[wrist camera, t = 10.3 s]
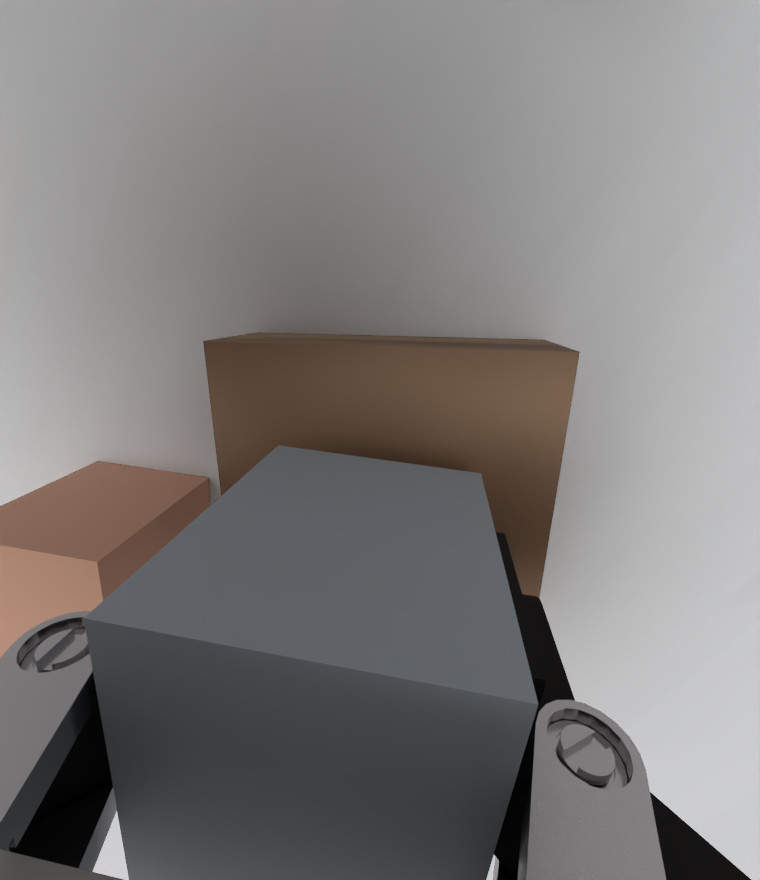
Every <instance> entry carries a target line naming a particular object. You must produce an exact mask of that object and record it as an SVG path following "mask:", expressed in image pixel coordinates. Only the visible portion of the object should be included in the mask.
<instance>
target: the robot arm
mask: <svg viewBox="0 0 760 880" xmlns="http://www.w3.org/2000/svg"><path fill="white" fill-rule="evenodd" d="M496 536H497V540H498V544H499V548H500V552H501V556H502V560H503V564H504V568H505V572H506V576H507V580H508V584H509V588H510V592H511V596H512V600H513V604H514V608H515V612H516V616H517V620H518V624H519V628H520V632H521V636H522V640H523V644H524V648H525V652H526V656H527V660H528V664H529V668H530V672H531V676H532V680H533V684H534V689H535V693H536V697H537V701H538V707H537V711H536V714H535V717H534V721H533V724H532V727H531V731H530V734H529V737H528V741H527V744H526V747H525V751H524V754H523V757H522V761H521V764H520V767H519V771H518V774H517V777H516V781H515V784H514V788H513V791H512V794H511V798H510V801H509V804H508V808H507V811H506V814H505V818H504V821H503V824H502V828H501V831H500V834H499V838H498V841H497V844H496V848H495V851H494V855H495V856H496V857H495V866H494V874H493V880H751V879H750V878H748V877H747V876H746V875H745V874H744V873H743V872H742V871H740V870H739V869H738V868H737V867H736V866H735V865H733V864H732V863H731V862H730V861H729V860H728V859H727V858H725V857H724V856H723V855H722V854H721V853H720V852H718V851H717V850H716V849H715V848H714V847H713V846H712V845H710V844H709V843H708V842H707V841H706V840H705V839H704V838H702V837H701V836H700V835H699V834H698V833H697V832H695V831H694V830H693V829H692V828H691V827H690V826H689V825H687V824H686V823H685V822H684V821H683V820H682V819H680V818H679V817H678V816H677V815H676V814H675V813H674V812H672V811H671V810H670V809H669V808H668V807H667V806H665V805H664V804H663V803H662V802H661V801H660V800H659V799H657V798H656V797H655V796H654V795H653V794H652V793H651V792H650V790H649V785H648V780H647V774H646V769H645V767H644V764H643V761H642V758H641V755H640V753H639V751H638V750H637V748H636V746H635V745H634V743H633V742H632V740H631V739H630V737H629V736H628V735H627V734H626V733H625V732H624V731H623V730H622V729H621V728H620V726H619V725H618V724H617V723H616V722H614V721H613V720H612V719H610V718H609V717H608V716H606V715H605V714H604V713H602V712H601V711H599V710H597V709H595V708H593V707H591V706H589V705H587V704H584V703H581V702H577V701H575V700H574V697H573V694H572V691H571V688H570V685H569V682H568V679H567V676H566V673H565V670H564V667H563V664H562V662H561V659H560V656H559V653H558V650H557V647H556V644H555V641H554V638H553V635H552V632H551V629H550V626H549V623H548V621H547V618H546V615H545V612H544V609H543V606H542V603H541V601H540V599H539V598H538V597H537V596H531V595H525V594H522V592H521V588H520V585H519V581H518V578H517V574H516V571H515V567H514V564H513V560H512V557H511V553H510V550H509V546H508V543H507V539H506V536H505V533H500V532H496ZM90 612H91V611H79V612H71V613H67V614H64V615H60V616H56V617H54V618H51V619H49V620H47V621H45V622H42V623H40V624H38V625H37V626H35V627H33V628H32V629H30V630H29V631H27V632H25V633H24V634H23V635H22V636H21V637H20V638H19V639H17V640H16V641H15V642H14V643H13V644H12V645H11V646H10V647H9V648H8V650H7V651H6V652H5V653H4V654H3V655H2V656H1V658H0V880H122V879H118V878H114V877H110V876H106V875H102V874H98V873H94V872H92V871H93V868H94V866H95V863H96V861H97V858H98V856H99V853H100V851H101V848H102V846H103V843H104V841H105V838H106V836H107V833H108V831H109V828H110V826H111V823H112V821H113V818H114V816H115V813H116V811H117V806H116V801H115V795H114V789H113V783H112V778H111V772H110V766H109V760H108V755H107V749H106V743H105V737H104V732H103V726H102V720H101V715H100V709H99V703H98V697H97V692H96V686H95V680H94V674H93V669H92V663H91V657H90V652H89V646H88V640H87V634H86V629H85V623H84V618H85V617H86V616H87V615H88V614H89V613H90Z"/></svg>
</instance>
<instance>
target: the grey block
mask: <svg viewBox="0 0 760 880" xmlns="http://www.w3.org/2000/svg"><path fill="white" fill-rule="evenodd" d="M84 623H85V629H86V634H87V640H88V646H89V652H90V657H91V663H92V669H93V674H94V680H95V686H96V692H97V697H98V703H99V709H100V715H101V720H102V726H103V732H104V737H105V743H106V749H107V755H108V760H109V766H110V772H111V778H112V783H113V789H114V795H115V801H116V806H117V812H118V818H119V823H120V829H121V835H122V841H123V846H124V852H125V858H126V864H127V869H128V875H129V880H486V878H487V874H488V871H489V868H490V864H491V861H492V858H493V854H494V851H495V848H496V844H497V841H498V838H499V834H500V831H501V828H502V824H503V821H504V818H505V814H506V811H507V808H508V804H509V801H510V798H511V794H512V791H513V788H514V784H515V781H516V777H517V774H518V771H519V767H520V764H521V761H522V757H523V754H524V751H525V747H526V744H527V741H528V737H529V734H530V731H531V727H532V724H533V721H534V717H535V714H536V711H537V707H538V701H537V697H536V693H535V689H534V684H533V680H532V676H531V672H530V668H529V664H528V660H527V656H526V652H525V648H524V644H523V640H522V636H521V632H520V628H519V624H518V620H517V616H516V612H515V608H514V604H513V600H512V596H511V592H510V588H509V584H508V580H507V576H506V572H505V568H504V564H503V560H502V556H501V552H500V548H499V544H498V540H497V536H496V532H495V528H494V524H493V520H492V516H491V512H490V507H489V503H488V499H487V495H486V491H485V487H484V483H483V479H482V475H481V473H475V472H468V471H460V470H453V469H446V468H439V467H431V466H424V465H417V464H410V463H403V462H395V461H388V460H381V459H374V458H366V457H359V456H352V455H345V454H337V453H330V452H323V451H316V450H309V449H301V448H294V447H287V446H280V445H278V446H277V447H276V448H275V449H274V450H272V451H271V452H270V453H269V454H268V455H267V456H266V457H265V458H263V459H262V460H261V461H260V462H259V463H258V464H257V465H256V466H254V467H253V468H252V469H251V470H250V471H249V472H248V473H247V474H245V475H244V476H243V477H242V478H241V479H240V480H239V481H238V482H236V483H235V484H234V485H233V486H232V487H231V488H230V489H229V490H227V491H226V492H225V493H224V494H223V495H222V496H221V497H220V498H218V499H217V500H216V501H215V502H214V503H213V504H212V505H211V506H209V507H208V508H207V509H206V510H205V511H204V512H203V513H202V514H200V515H199V516H198V517H197V518H196V519H195V520H194V521H193V522H191V523H190V524H189V525H188V526H187V527H186V528H185V529H184V530H182V531H181V532H180V533H179V534H178V535H177V536H176V537H175V538H173V539H172V540H171V541H170V542H169V543H168V544H167V545H166V546H164V547H163V548H162V549H161V550H160V551H159V552H158V553H157V554H155V555H154V556H153V557H152V558H151V559H150V560H149V561H148V562H146V563H145V564H144V565H143V566H142V567H141V568H140V569H139V570H137V571H136V572H135V573H134V574H133V575H132V576H131V577H130V578H128V579H127V580H126V581H125V582H124V583H123V584H122V585H121V586H119V587H118V588H117V589H116V590H115V591H114V592H113V593H112V594H110V595H109V596H108V597H107V598H106V599H105V600H104V601H103V602H101V603H100V604H99V605H98V606H97V607H96V608H95V609H94V610H92V611H91V612H90V613H89V614H88V615H87V616H86V617H85V618H84Z"/></svg>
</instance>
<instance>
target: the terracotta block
mask: <svg viewBox="0 0 760 880" xmlns="http://www.w3.org/2000/svg"><path fill="white" fill-rule="evenodd" d="M209 506H210V491H209V478H208V477H202V476H195V475H188V474H181V473H175V472H168V471H161V470H154V469H148V468H141V467H134V466H127V465H121V464H114V463H107V462H100V461H97V462H95V463H93V464H91V465H89V466H86V467H84V468H82V469H80V470H78V471H76V472H73V473H71V474H69V475H67V476H65V477H63V478H60V479H58V480H56V481H54V482H52V483H50V484H47V485H45V486H43V487H41V488H39V489H37V490H34V491H32V492H30V493H28V494H26V495H24V496H21V497H19V498H17V499H15V500H13V501H11V502H9V503H6V504H4V505H2V506H0V658H1V656H2V655H3V654H4V653H5V652H6V651H7V650H8V648H9V647H10V646H11V645H12V644H13V643H14V642H15V641H16V640H17V639H19V638H20V637H21V636H22V635H23V634H24V633H25V632H27V631H29V630H30V629H32V628H33V627H35V626H37V625H38V624H40V623H42V622H45V621H47V620H49V619H51V618H54V617H56V616H60V615H64V614H67V613H71V612H79V611H92V610H94V609H95V608H96V607H97V606H98V605H99V604H100V603H101V602H103V601H104V600H105V599H106V598H107V597H108V596H109V595H110V594H112V593H113V592H114V591H115V590H116V589H117V588H118V587H119V586H121V585H122V584H123V583H124V582H125V581H126V580H127V579H128V578H130V577H131V576H132V575H133V574H134V573H135V572H136V571H137V570H139V569H140V568H141V567H142V566H143V565H144V564H145V563H146V562H148V561H149V560H150V559H151V558H152V557H153V556H154V555H155V554H157V553H158V552H159V551H160V550H161V549H162V548H163V547H164V546H166V545H167V544H168V543H169V542H170V541H171V540H172V539H173V538H175V537H176V536H177V535H178V534H179V533H180V532H181V531H182V530H184V529H185V528H186V527H187V526H188V525H189V524H190V523H191V522H193V521H194V520H195V519H196V518H197V517H198V516H199V515H200V514H202V513H203V512H204V511H205V510H206V509H207V508H208V507H209Z"/></svg>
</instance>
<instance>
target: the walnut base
mask: <svg viewBox="0 0 760 880" xmlns="http://www.w3.org/2000/svg"><path fill="white" fill-rule="evenodd" d="M203 342H204V351H205V359H206V368H207V376H208V385H209V393H210V402H211V410H212V419H213V428H214V436H215V445H216V453H217V462H218V470H219V479H220V487H221V496H222V495H223V494H224V493H225V492H226V491H227V490H229V489H230V488H231V487H232V486H233V485H234V484H235V483H236V482H238V481H239V480H240V479H241V478H242V477H243V476H244V475H245V474H247V473H248V472H249V471H250V470H251V469H252V468H253V467H254V466H256V465H257V464H258V463H259V462H260V461H261V460H262V459H263V458H265V457H266V456H267V455H268V454H269V453H270V452H271V451H272V450H274V449H275V448H276V447H277V446H278V445H280V446H287V447H294V448H301V449H309V450H316V451H323V452H330V453H337V454H345V455H352V456H359V457H366V458H374V459H381V460H388V461H395V462H403V463H410V464H417V465H424V466H431V467H439V468H446V469H453V470H460V471H468V472H475V473H481V475H482V479H483V483H484V487H485V491H486V495H487V499H488V503H489V507H490V512H491V516H492V520H493V524H494V528H495V532H500V533H505V536H506V539H507V543H508V546H509V550H510V553H511V557H512V560H513V564H514V567H515V571H516V574H517V578H518V581H519V585H520V588H521V592H522V594H525V595H531V596H537V597H538V598H539V595H540V589H541V583H542V577H543V571H544V565H545V559H546V553H547V547H548V540H549V534H550V528H551V522H552V516H553V510H554V504H555V498H556V492H557V486H558V480H559V474H560V468H561V462H562V455H563V449H564V443H565V437H566V431H567V425H568V419H569V413H570V407H571V401H572V395H573V389H574V383H575V377H576V371H577V364H578V358H579V352H578V351H575V350H572V349H569V348H566V347H563V346H561V345H558V344H555V343H552V342H549V341H546V340H528V339H489V338H450V337H411V336H372V335H333V334H294V333H252V334H245V335H239V336H233V337H227V338H220V339H214V340H208V341H203Z"/></svg>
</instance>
